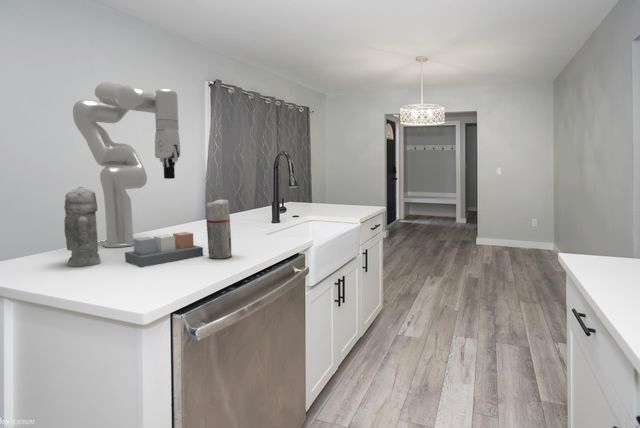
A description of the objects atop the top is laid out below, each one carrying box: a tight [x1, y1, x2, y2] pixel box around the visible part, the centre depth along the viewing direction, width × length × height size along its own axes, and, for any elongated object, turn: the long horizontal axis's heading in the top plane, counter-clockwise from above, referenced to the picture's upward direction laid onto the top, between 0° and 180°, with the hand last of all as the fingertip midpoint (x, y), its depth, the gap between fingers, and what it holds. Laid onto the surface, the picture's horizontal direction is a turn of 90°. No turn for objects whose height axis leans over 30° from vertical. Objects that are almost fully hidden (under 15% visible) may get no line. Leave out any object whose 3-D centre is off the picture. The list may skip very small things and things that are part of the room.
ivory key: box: [153, 234, 175, 252], centre depth 144 cm, size 5×5×6 cm
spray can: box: [205, 199, 233, 260], centre depth 146 cm, size 8×8×20 cm
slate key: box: [133, 236, 156, 256], centre depth 139 cm, size 5×5×6 cm
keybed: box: [124, 244, 204, 268], centre depth 145 cm, size 12×22×3 cm, turn 138°
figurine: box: [63, 186, 101, 267], centre depth 137 cm, size 10×14×25 cm
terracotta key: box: [172, 231, 194, 249], centre depth 149 cm, size 5×5×6 cm
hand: (169, 178), depth 150 cm, fingers closed
